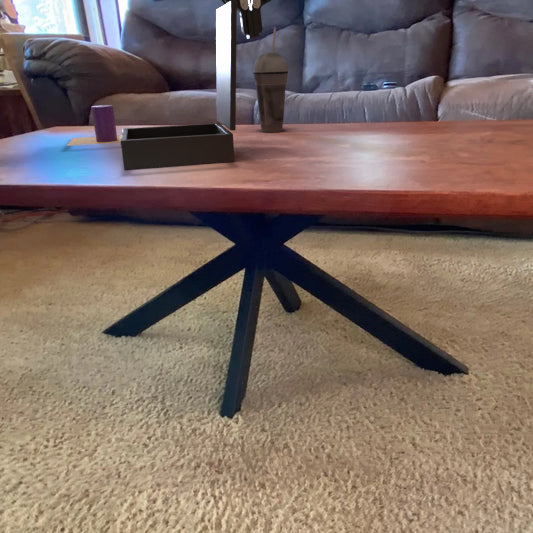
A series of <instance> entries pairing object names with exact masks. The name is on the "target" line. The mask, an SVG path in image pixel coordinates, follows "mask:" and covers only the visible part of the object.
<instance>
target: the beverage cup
mask: <svg viewBox="0 0 533 533" xmlns="http://www.w3.org/2000/svg"><path fill="white" fill-rule="evenodd" d="M276 38H277V27H275V26H274V27H273V34H272V45H271V51H270V52H269V51H268V52H263V53H262V54H260V55H259V56H258V57H257V59H255V63H254V65H253V71H252V75H253V80H254V85H255V89H256V99H257V108H258V116H259V124H260V130H261V133H281V132H283V127H284V118H285V102H286V88H287V82H288V74H289V71H288V65H287V62H286V60H285V58H284V57H283V56H282V55H281V54H280V53H278V52H275V50H276Z"/></svg>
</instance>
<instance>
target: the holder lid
mask: <svg viewBox="0 0 533 533" xmlns="http://www.w3.org/2000/svg"><path fill="white" fill-rule="evenodd" d="M237 16H238V10H237V1H230V2H228V3H226V4H223V5H222V6H220V7H218V8H217V9H215V35H216V36H215V40H216V41H215V45H216V46H215V48H216V49H215V52H216V53H215V54H216V55H215V57H216V61H215V62H216V63H215V64H216V67H215V68H216V69H215V70H216V72H215V73H216V79H215V80H216V83H215V84H216V87H215V88H216V121H217V122H218V123H220V124H221V125H222V126H223V127H225V128H226V129H227V130H228V131H236V128H237V126H236V125H237V124H236V123H237V120H236V119H237V36H238V35H237V28H238V27H237V24H238V22H237V21H238V19H237Z"/></svg>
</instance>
